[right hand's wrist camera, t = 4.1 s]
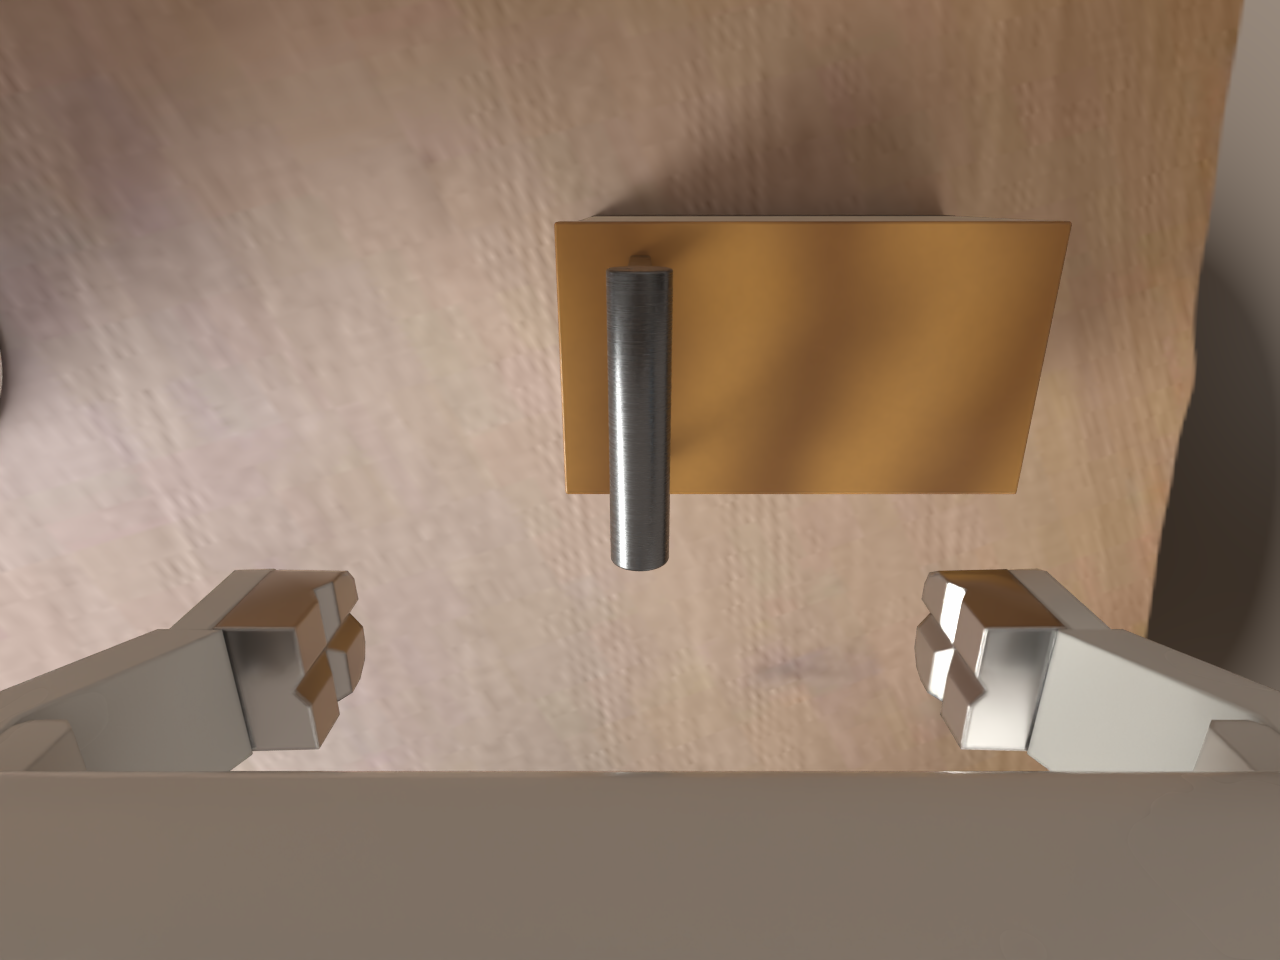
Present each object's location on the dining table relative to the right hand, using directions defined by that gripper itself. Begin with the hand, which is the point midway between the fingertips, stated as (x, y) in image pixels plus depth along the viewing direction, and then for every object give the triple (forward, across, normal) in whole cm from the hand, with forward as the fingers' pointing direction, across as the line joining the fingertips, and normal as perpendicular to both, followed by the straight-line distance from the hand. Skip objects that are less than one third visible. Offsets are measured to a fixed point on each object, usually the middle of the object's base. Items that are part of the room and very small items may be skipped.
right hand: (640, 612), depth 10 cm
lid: (+17, +6, 0) cm, 18 cm away
